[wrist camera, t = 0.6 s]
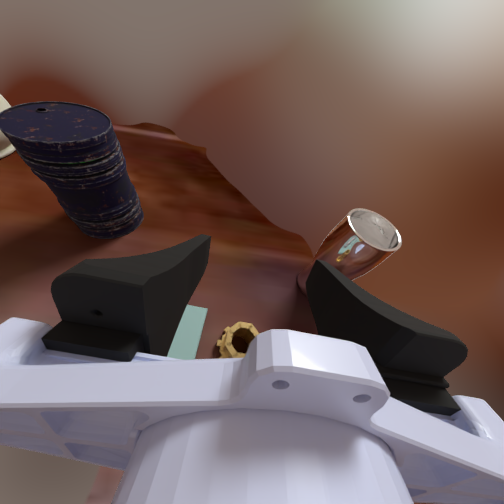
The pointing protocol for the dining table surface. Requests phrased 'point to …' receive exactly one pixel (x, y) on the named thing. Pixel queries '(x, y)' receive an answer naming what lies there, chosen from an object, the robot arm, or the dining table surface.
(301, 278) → the beer glass
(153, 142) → the dining table surface
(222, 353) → the planet gear
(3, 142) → the kettle
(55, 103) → the storage jar
